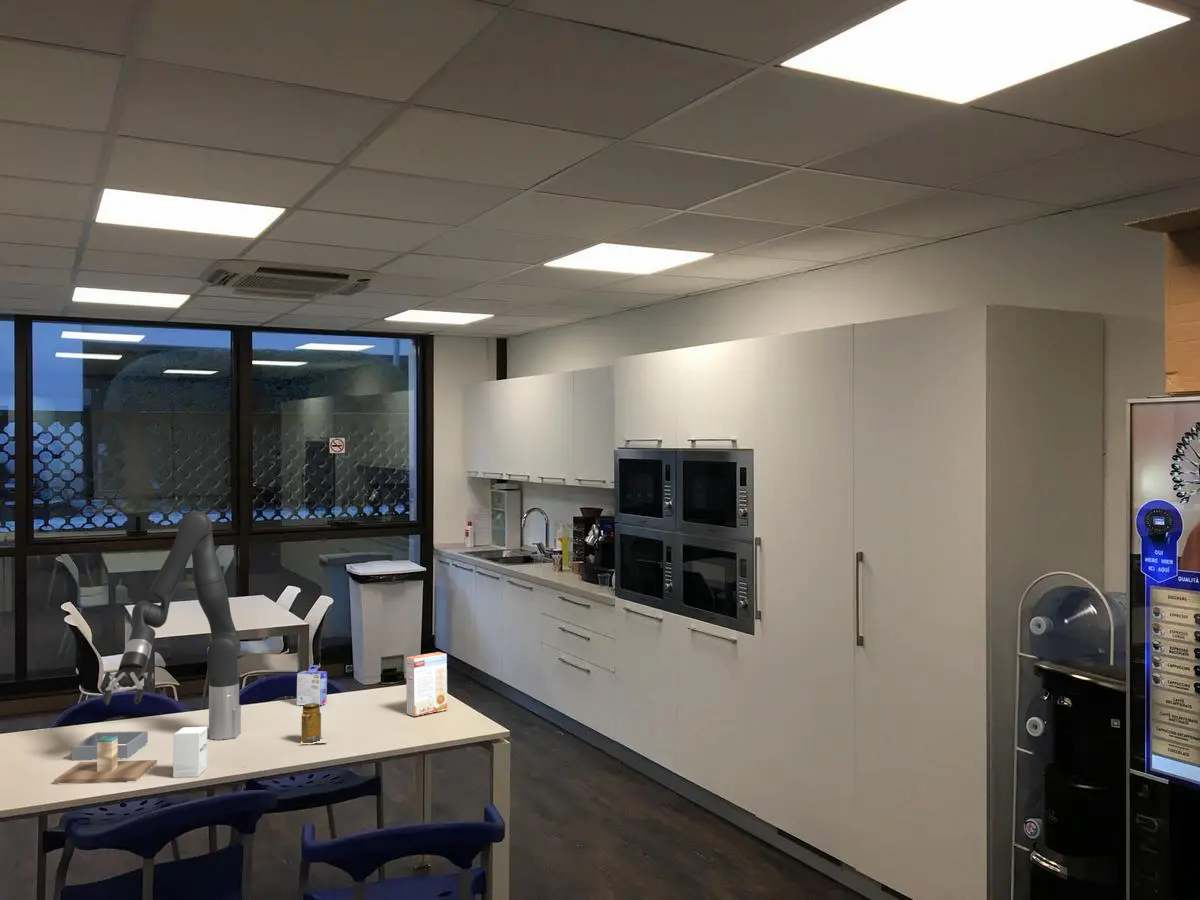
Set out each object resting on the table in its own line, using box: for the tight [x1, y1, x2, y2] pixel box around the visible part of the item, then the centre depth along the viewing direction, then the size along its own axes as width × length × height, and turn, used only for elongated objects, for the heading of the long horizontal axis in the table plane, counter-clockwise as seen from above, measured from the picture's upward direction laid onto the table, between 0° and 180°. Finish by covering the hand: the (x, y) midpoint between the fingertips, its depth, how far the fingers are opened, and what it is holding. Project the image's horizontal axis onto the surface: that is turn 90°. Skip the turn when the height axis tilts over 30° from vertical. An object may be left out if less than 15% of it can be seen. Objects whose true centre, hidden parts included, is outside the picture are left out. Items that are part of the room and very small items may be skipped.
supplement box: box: [172, 726, 208, 778], centre depth 273 cm, size 7×7×13 cm
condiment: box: [300, 703, 322, 743], centre depth 304 cm, size 7×8×12 cm
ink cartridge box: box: [296, 664, 328, 706], centre depth 352 cm, size 10×6×14 cm, turn 78°
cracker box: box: [405, 651, 448, 717], centre depth 340 cm, size 14×6×21 cm, turn 133°
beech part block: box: [96, 736, 119, 772], centre depth 272 cm, size 4×4×9 cm
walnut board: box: [53, 759, 158, 784], centre depth 272 cm, size 22×16×1 cm
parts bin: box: [71, 730, 149, 761], centre depth 294 cm, size 16×16×4 cm
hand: (120, 703), depth 281 cm, fingers open, 8 cm apart
